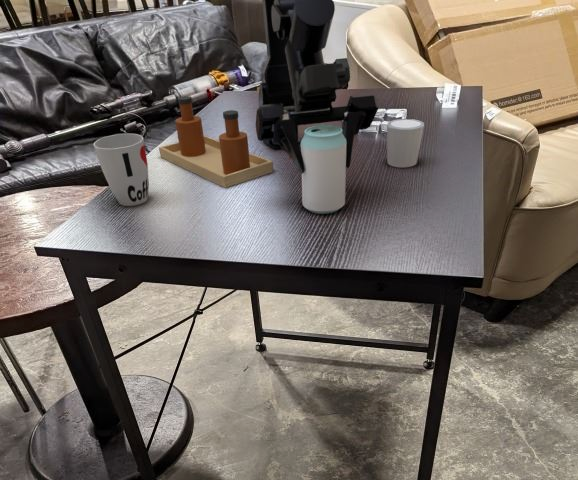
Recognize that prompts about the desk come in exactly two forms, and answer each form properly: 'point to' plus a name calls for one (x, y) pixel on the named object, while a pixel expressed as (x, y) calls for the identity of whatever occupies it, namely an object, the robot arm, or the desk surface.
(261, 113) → the robot arm
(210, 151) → the tray
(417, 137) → the shot glass
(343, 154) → the can
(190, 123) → the amber bottle far
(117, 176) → the cup
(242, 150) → the amber bottle near
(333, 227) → the desk surface
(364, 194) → the desk surface
